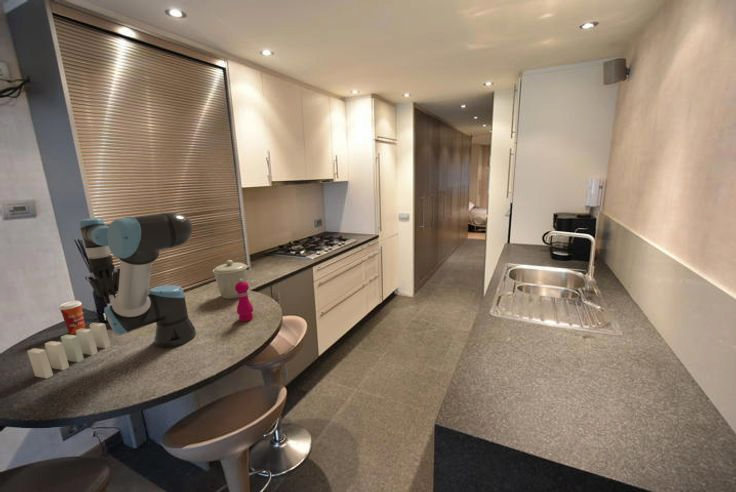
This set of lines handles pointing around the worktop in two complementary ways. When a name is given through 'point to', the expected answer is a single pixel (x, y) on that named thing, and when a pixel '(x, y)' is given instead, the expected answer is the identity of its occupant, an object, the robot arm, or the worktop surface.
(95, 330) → the domino
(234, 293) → the canister
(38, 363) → the domino
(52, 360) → the domino
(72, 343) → the domino
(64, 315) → the paper cup
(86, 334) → the domino
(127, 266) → the robot arm
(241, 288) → the pepper mill
